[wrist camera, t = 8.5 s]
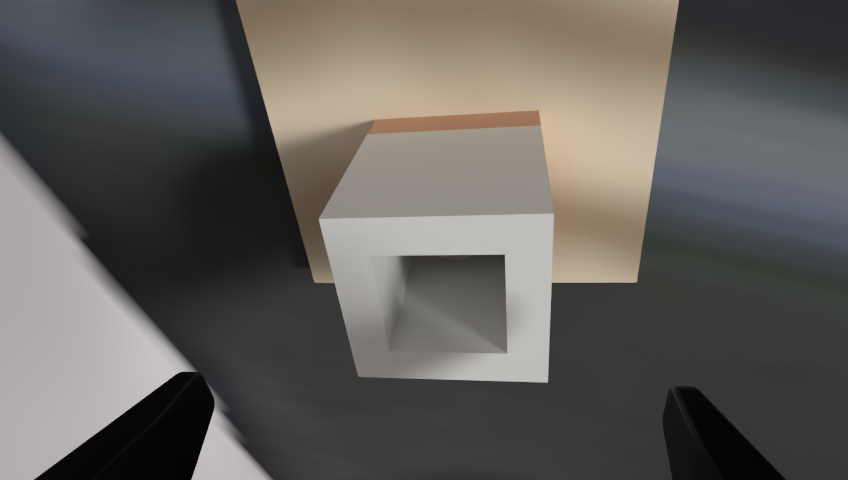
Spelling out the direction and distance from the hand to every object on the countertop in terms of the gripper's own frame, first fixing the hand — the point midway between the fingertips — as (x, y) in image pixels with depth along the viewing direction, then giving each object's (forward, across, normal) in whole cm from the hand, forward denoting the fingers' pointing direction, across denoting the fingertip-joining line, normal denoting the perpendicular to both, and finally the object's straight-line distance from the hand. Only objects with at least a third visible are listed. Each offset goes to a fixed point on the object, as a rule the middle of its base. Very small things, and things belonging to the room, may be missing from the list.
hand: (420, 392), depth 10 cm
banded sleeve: (+9, 0, 0) cm, 9 cm away
